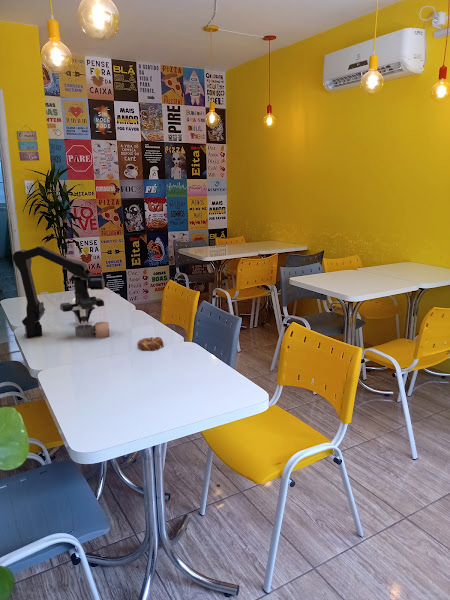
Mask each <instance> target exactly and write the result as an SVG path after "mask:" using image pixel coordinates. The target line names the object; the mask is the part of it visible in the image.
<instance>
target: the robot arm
mask: <svg viewBox="0 0 450 600" xmlns="http://www.w3.org/2000/svg"><path fill="white" fill-rule="evenodd" d="M39 256H40V257H42V258H44V259H46V260H47V261H50V262H52V263H55V264H56V265H58V266H61V267H63V268H65V269H66V270H67V271H68V272H69V273H70V274H71V277H70V278H69V279H68V281H69V282H73V287H74V298H75V303H76V304H71V302H64V303H63V302H62V303H60V304H59V310H61V311H62V312H64V313H66V312H73V314H74V313H75V315H76V317H77V319H78V321H79V323H80V324H81V317H80V310H79V309H78V307H81V308H82V309H85V311H86V317H87V320H86V323H89V321H90V316H91V314H92V311H93V310H95V309H96V307H95V306H97V307H98V308H99V307H104V306H105V301H104V299H101V298H100V297H96V296H90V293H89V289H90V290H91V291H94V290H96V291H97V290H101V291H102V290H105V285H106V284H105V283H106V282H105V279H104V275H103V274H93V273H92V272H91V271H90V270H89V269H88V266H87V264H86V263H85V262H83V261H80V260H77V259H71V258H68V257H66V256H65V255H62V254H59V253H57V252H56V251H53V250H51V249H49V248H47V247H46V246H44V245H38V246H36V247H34V248H31V249H28V250H27V249H24V248H23V249H20V250H17V251H15V252H14V253H13V254H12V261H13V263H14V264H15V266H16V268H17V270H18V271H19V274H20V277H21V281H22V285H23V291H24V294H25V298H26V308H25V310H26V316H25V317H24V318H23V319H22V320H21V322H22V325H23V327H24V336H25V338H27V339H30V338H36V337H37V338H38V337H42V336H43V325H42V324H41V322H40V321H41V318H42V317H43V316H44V315H45V311H46V308H45V304H44V302H43V301H40V300H39V299H38V294H37V291H36V287H35V283H34V279H33V273H32V259H33V258H35V257H39Z"/></svg>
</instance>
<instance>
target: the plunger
mask: <svg viewBox="0 0 450 600" xmlns="http://www.w3.org/2000/svg"><path fill="white" fill-rule="evenodd" d="M86 320H87V317H86V316H82V317H81V321H83V329H88V328H85V325H86V324H85V321H86Z"/></svg>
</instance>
